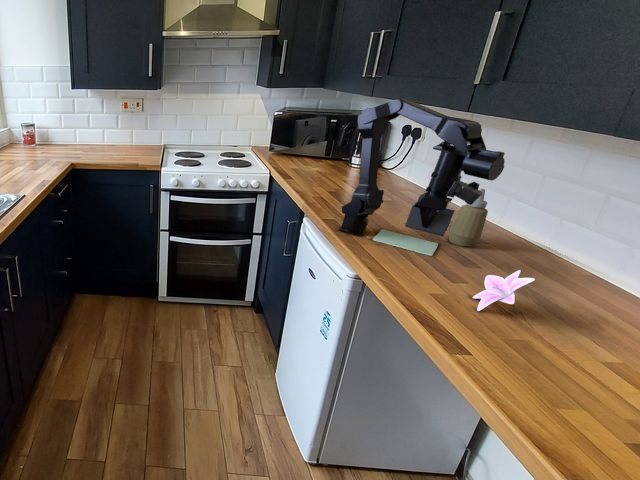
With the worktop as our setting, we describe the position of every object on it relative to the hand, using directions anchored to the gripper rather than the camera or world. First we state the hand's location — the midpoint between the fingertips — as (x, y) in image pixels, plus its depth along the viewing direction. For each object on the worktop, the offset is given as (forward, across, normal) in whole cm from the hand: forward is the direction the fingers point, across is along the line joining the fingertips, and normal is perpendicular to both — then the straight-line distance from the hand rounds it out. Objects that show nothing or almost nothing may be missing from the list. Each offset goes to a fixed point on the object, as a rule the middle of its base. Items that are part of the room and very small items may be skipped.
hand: (426, 224), depth 112 cm
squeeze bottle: (+11, +25, -8) cm, 29 cm away
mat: (+11, +12, +4) cm, 17 cm away
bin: (+1, 0, 0) cm, 1 cm away
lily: (+10, -17, -19) cm, 28 cm away
